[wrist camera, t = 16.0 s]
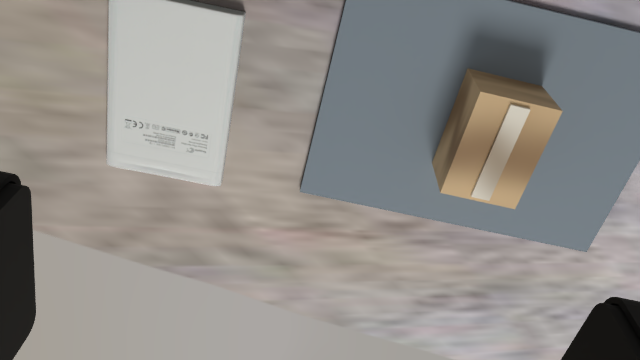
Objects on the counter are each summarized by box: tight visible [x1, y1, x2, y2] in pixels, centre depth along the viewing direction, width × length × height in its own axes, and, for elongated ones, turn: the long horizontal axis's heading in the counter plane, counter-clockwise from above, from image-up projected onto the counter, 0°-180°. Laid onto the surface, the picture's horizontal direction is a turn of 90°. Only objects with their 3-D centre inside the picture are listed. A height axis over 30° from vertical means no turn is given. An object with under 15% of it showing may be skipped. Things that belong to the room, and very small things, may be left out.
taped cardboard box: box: [432, 68, 563, 209], centre depth 36 cm, size 7×5×4 cm
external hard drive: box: [107, 0, 246, 186], centre depth 38 cm, size 2×8×12 cm
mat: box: [300, 0, 640, 252], centre depth 38 cm, size 22×16×1 cm
